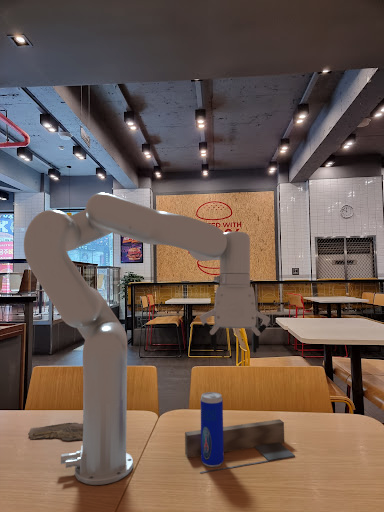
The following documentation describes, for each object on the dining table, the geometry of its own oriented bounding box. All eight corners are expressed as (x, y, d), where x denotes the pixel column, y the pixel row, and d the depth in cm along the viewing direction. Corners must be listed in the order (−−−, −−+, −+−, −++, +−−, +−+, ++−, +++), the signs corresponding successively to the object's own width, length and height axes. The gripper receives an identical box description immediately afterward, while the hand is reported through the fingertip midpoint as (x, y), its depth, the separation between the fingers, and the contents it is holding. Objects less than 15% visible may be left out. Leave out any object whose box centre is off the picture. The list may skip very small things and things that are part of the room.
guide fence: (196, 474, 72) (195, 449, 73) (185, 453, 81) (185, 432, 82) (300, 456, 80) (300, 434, 80) (280, 438, 88) (279, 419, 89)
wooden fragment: (16, 440, 89) (17, 436, 90) (40, 423, 100) (40, 419, 100) (109, 445, 86) (109, 440, 87) (123, 427, 97) (123, 423, 97)
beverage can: (197, 459, 78) (196, 393, 80) (216, 454, 81) (215, 390, 82) (207, 470, 74) (206, 400, 75) (227, 464, 76) (226, 396, 77)
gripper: (199, 280, 81) (198, 353, 79) (272, 281, 80) (272, 355, 78) (200, 281, 88) (199, 347, 87) (266, 282, 87) (267, 349, 86)
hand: (234, 351), depth 82 cm, fingers open, 9 cm apart
